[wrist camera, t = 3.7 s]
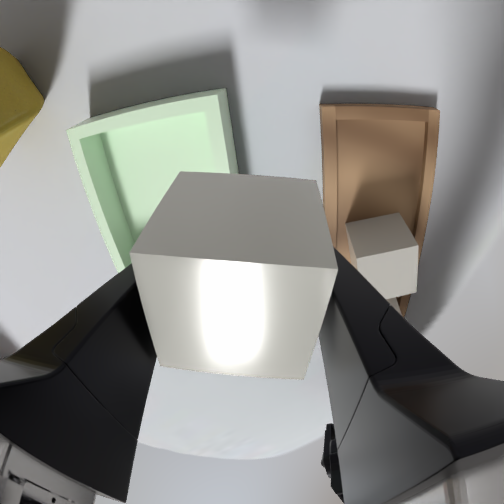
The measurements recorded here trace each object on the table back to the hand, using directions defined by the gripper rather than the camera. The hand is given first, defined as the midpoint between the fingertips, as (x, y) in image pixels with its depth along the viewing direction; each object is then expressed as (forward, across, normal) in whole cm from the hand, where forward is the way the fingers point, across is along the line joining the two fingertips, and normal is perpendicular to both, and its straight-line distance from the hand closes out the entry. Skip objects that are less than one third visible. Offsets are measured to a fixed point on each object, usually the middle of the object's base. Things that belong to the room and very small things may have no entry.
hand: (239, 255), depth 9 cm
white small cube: (+11, -8, +8) cm, 16 cm away
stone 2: (+1, 0, 0) cm, 1 cm away
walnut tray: (+12, -8, +8) cm, 16 cm away
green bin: (+12, +6, +2) cm, 14 cm away
